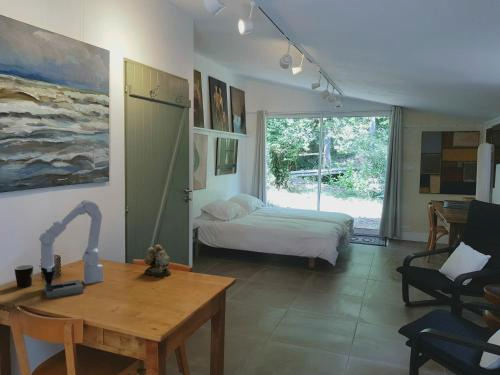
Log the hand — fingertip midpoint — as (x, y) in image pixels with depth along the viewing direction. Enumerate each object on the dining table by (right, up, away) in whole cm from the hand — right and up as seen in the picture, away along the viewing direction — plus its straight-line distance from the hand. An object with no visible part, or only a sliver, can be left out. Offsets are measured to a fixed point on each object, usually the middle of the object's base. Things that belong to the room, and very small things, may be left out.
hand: (48, 282), depth 198 cm
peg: (0, -4, 0) cm, 4 cm away
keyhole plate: (+10, -4, -4) cm, 11 cm away
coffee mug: (-15, -3, +6) cm, 16 cm away
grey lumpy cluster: (+49, -2, +28) cm, 56 cm away
